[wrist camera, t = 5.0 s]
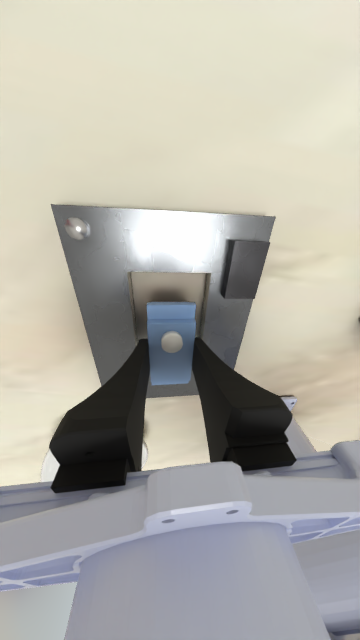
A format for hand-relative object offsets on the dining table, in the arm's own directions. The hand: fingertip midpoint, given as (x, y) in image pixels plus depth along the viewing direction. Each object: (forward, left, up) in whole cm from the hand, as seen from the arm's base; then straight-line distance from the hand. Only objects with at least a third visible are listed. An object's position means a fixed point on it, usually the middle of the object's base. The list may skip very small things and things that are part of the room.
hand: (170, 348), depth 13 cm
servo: (0, 0, -3) cm, 3 cm away
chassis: (0, 0, -4) cm, 4 cm away
